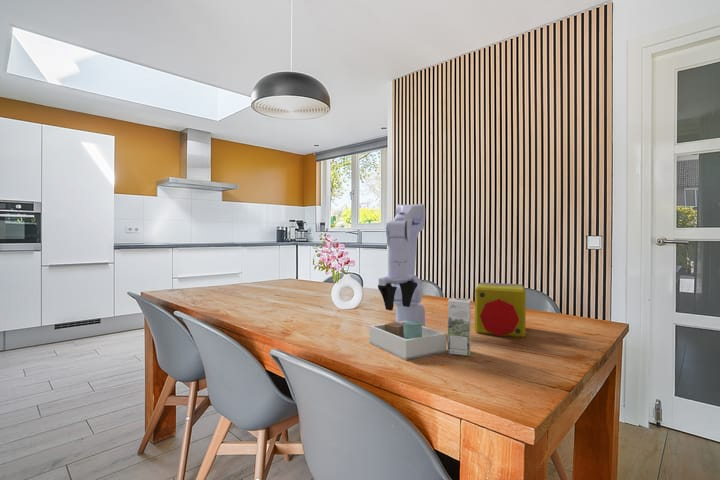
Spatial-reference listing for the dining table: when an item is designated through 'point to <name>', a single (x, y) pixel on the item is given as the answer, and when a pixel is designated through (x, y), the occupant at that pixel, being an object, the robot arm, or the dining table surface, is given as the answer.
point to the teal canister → (412, 329)
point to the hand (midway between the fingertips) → (397, 308)
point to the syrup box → (459, 326)
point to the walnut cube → (395, 328)
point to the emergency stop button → (500, 309)
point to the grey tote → (408, 342)
